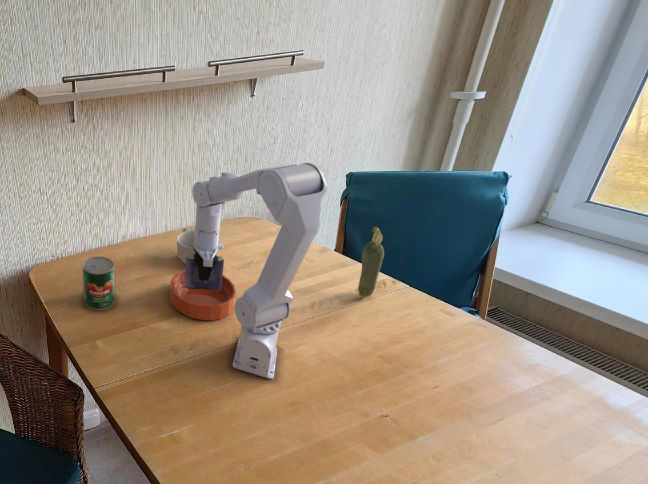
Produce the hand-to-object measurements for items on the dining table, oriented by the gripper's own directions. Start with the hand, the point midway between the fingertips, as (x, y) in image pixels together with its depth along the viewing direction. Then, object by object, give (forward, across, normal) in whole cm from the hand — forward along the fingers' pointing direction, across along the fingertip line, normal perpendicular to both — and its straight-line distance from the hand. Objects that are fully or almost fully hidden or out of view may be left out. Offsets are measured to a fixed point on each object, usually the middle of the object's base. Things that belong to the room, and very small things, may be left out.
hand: (203, 275), depth 107 cm
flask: (+4, 0, 0) cm, 4 cm away
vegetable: (+8, +6, -41) cm, 42 cm away
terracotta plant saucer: (+8, 0, 0) cm, 8 cm away
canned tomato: (+8, -4, +26) cm, 28 cm away
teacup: (+8, +20, +1) cm, 22 cm away
